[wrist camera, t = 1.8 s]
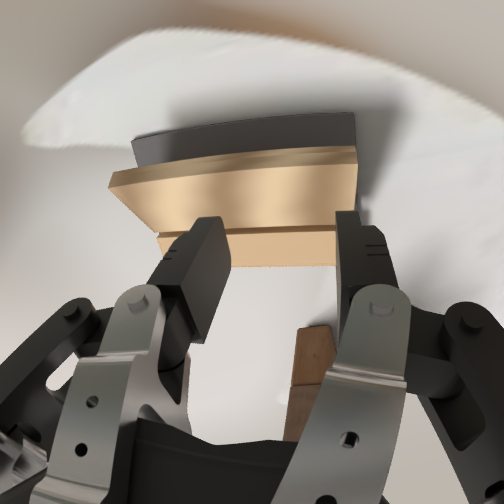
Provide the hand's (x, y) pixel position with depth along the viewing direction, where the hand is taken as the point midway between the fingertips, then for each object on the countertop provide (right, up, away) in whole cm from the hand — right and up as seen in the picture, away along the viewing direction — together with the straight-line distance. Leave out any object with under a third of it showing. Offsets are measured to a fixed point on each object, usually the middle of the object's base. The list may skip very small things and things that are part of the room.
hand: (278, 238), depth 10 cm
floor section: (-1, +4, +14) cm, 15 cm away
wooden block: (+7, -12, +24) cm, 28 cm away
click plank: (-2, +4, +11) cm, 12 cm away
